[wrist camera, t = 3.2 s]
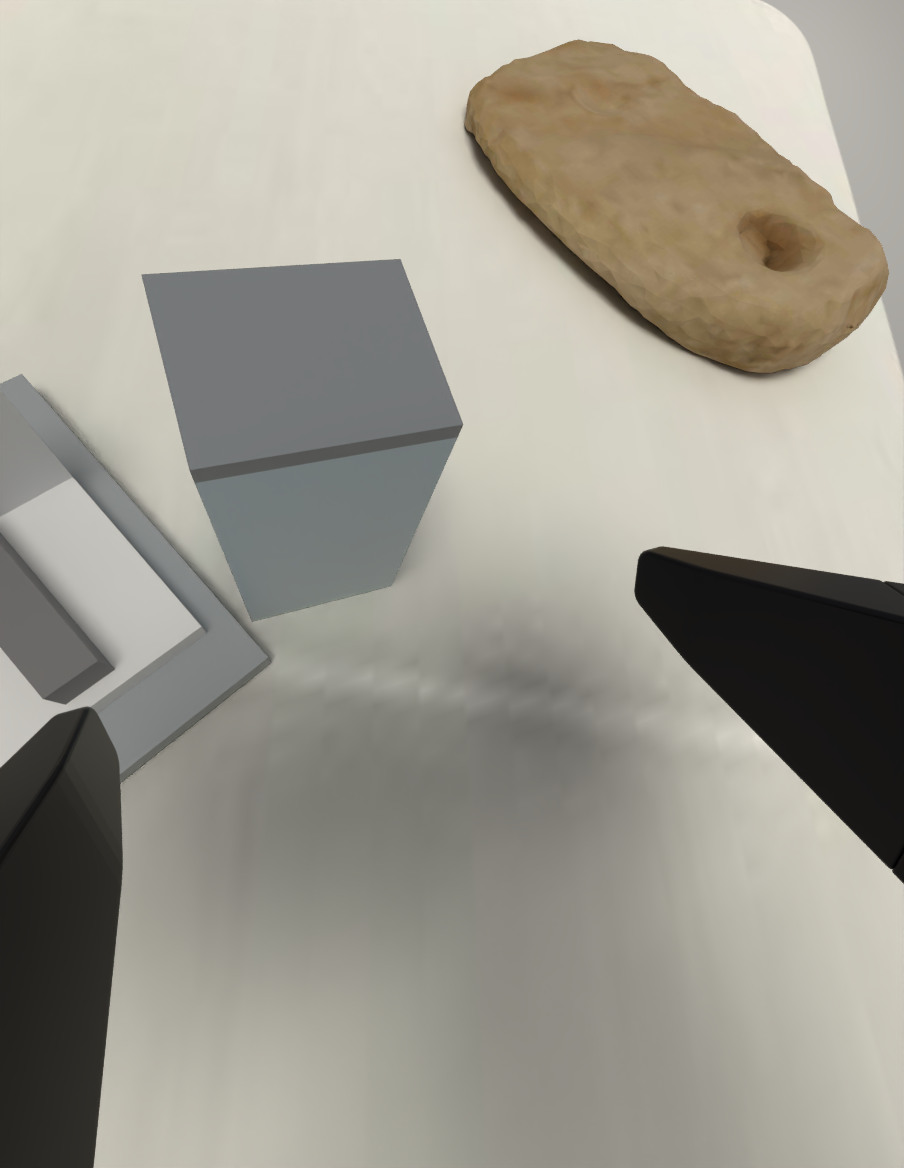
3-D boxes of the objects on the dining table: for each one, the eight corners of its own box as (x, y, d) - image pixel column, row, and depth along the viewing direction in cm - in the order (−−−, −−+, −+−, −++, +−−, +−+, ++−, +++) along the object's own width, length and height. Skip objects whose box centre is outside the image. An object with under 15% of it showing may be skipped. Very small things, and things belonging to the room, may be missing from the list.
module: (391, 585, 22) (463, 424, 12) (252, 621, 21) (189, 469, 10) (359, 486, 23) (398, 255, 13) (224, 512, 22) (140, 270, 11)
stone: (585, 76, 38) (625, -37, 33) (851, 335, 35) (944, 256, 29) (413, 138, 33) (427, 16, 28) (706, 450, 30) (787, 380, 24)
